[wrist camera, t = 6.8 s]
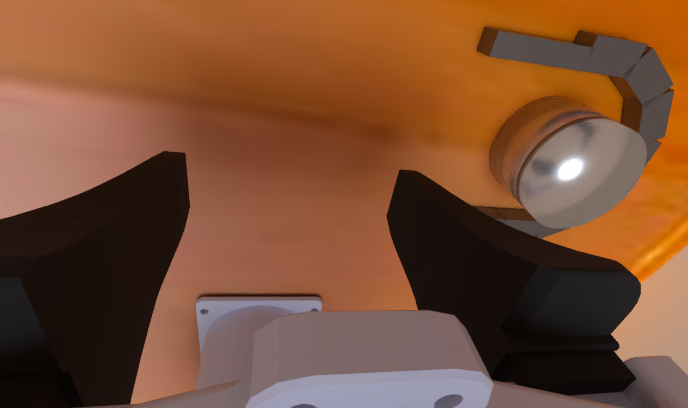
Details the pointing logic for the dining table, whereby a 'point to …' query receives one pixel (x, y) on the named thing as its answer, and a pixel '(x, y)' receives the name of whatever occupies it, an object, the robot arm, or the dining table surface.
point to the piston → (566, 161)
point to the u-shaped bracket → (596, 57)
